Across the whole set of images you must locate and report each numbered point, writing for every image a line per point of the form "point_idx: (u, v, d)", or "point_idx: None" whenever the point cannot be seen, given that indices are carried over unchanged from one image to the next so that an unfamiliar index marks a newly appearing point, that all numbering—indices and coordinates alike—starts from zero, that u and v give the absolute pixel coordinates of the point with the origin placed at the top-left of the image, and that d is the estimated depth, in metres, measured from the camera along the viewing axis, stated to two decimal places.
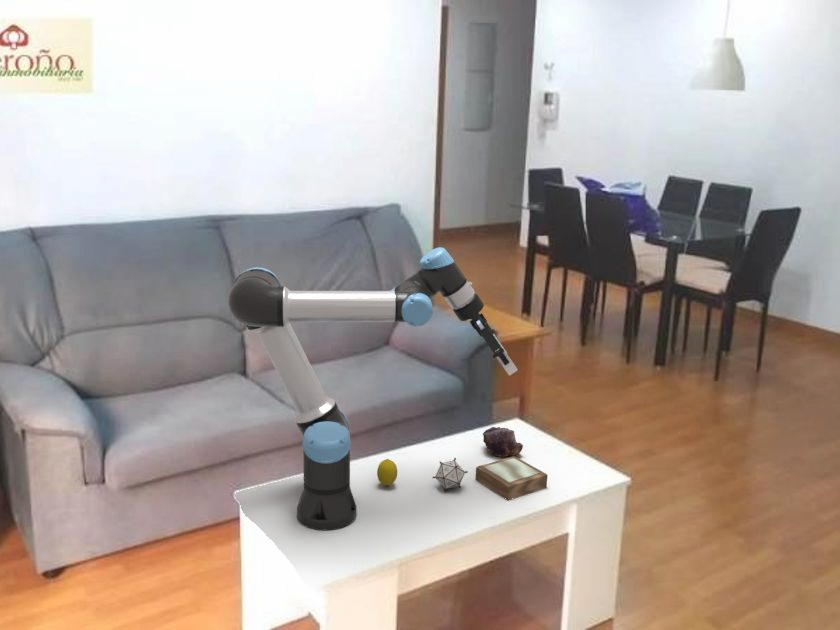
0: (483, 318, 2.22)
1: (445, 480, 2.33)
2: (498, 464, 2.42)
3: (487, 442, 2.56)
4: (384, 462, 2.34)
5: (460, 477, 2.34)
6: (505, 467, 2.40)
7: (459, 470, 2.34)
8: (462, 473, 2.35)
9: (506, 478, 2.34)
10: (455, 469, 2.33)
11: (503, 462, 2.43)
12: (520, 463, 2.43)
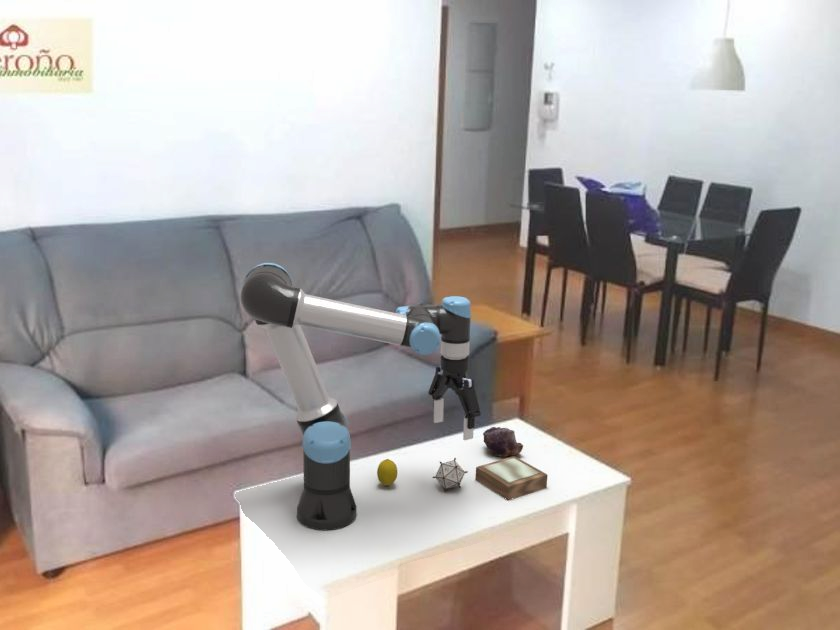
0: None
1: (445, 480, 2.33)
2: (498, 464, 2.42)
3: (487, 442, 2.56)
4: (384, 462, 2.34)
5: (460, 477, 2.34)
6: (505, 467, 2.40)
7: (459, 470, 2.34)
8: (462, 473, 2.35)
9: (506, 478, 2.34)
10: (455, 469, 2.33)
11: (503, 462, 2.43)
12: (520, 463, 2.43)
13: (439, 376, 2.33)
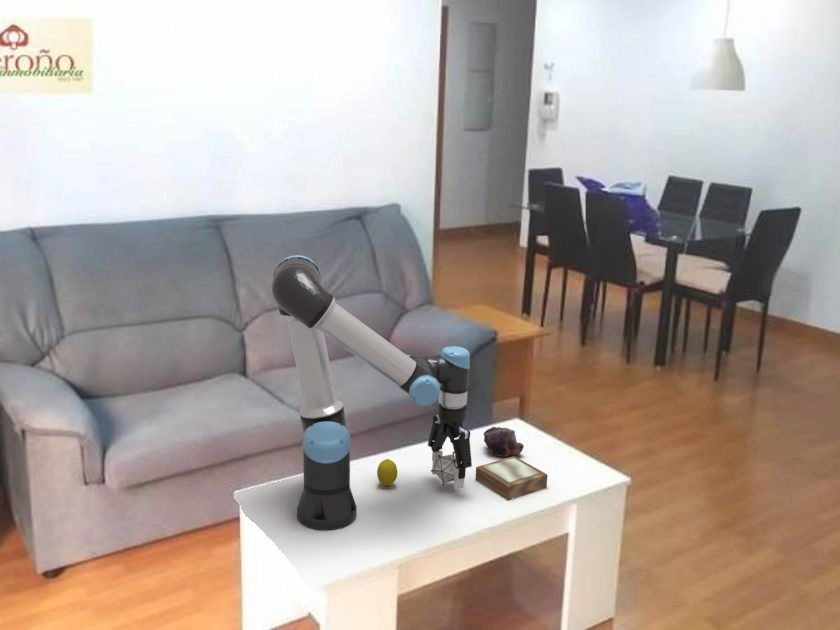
0: None
1: (443, 473, 2.32)
2: (498, 464, 2.42)
3: (488, 442, 2.56)
4: (384, 462, 2.34)
5: None
6: (505, 467, 2.40)
7: None
8: None
9: (506, 478, 2.34)
10: (454, 463, 2.32)
11: (503, 462, 2.43)
12: (520, 463, 2.43)
13: (437, 425, 2.37)
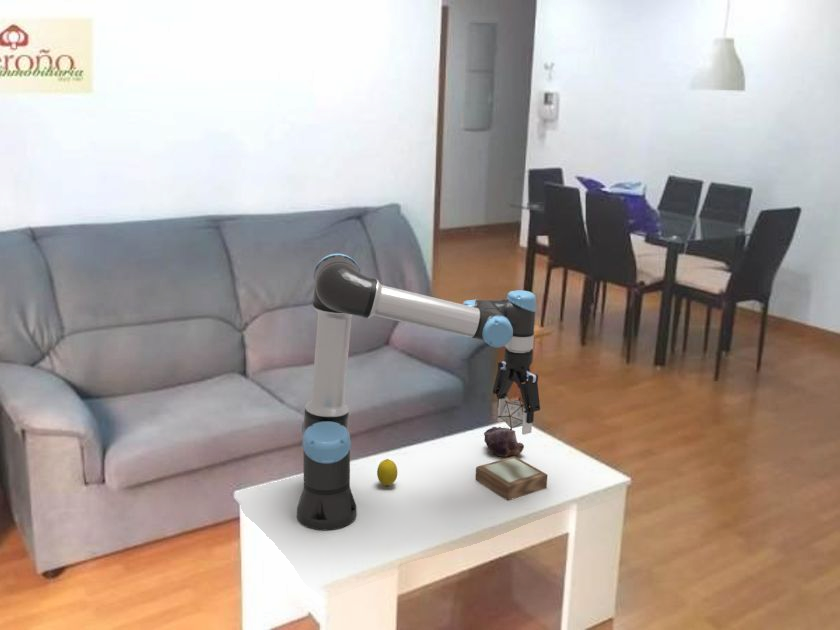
0: None
1: (511, 419, 2.31)
2: (498, 464, 2.42)
3: (488, 442, 2.56)
4: (384, 462, 2.34)
5: None
6: (505, 467, 2.40)
7: None
8: None
9: (506, 478, 2.34)
10: (521, 407, 2.32)
11: (503, 462, 2.43)
12: (520, 463, 2.43)
13: (502, 372, 2.36)
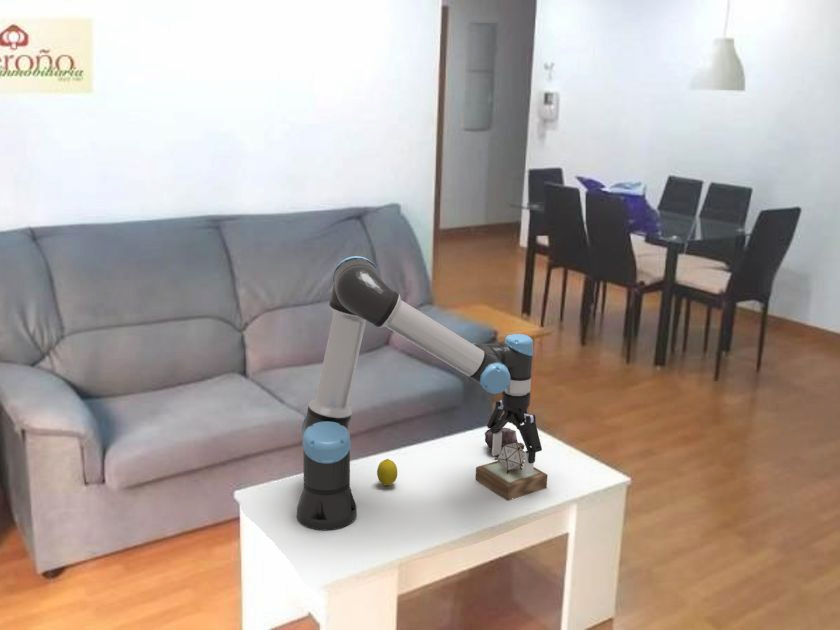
0: None
1: (508, 462, 2.35)
2: (498, 464, 2.42)
3: (488, 442, 2.56)
4: (384, 462, 2.34)
5: (522, 459, 2.36)
6: None
7: (521, 452, 2.36)
8: (524, 455, 2.37)
9: (506, 478, 2.34)
10: (518, 451, 2.35)
11: None
12: None
13: (499, 410, 2.39)
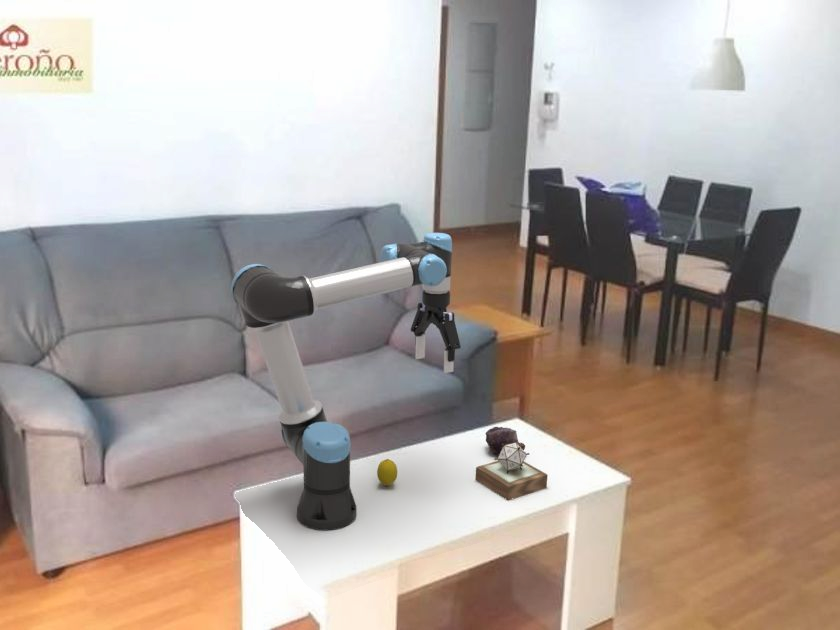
0: None
1: (508, 462, 2.35)
2: (498, 464, 2.42)
3: (489, 442, 2.56)
4: (384, 462, 2.34)
5: (522, 459, 2.36)
6: None
7: (521, 452, 2.36)
8: (524, 455, 2.37)
9: (506, 478, 2.34)
10: (518, 451, 2.35)
11: None
12: None
13: (421, 312, 2.40)
